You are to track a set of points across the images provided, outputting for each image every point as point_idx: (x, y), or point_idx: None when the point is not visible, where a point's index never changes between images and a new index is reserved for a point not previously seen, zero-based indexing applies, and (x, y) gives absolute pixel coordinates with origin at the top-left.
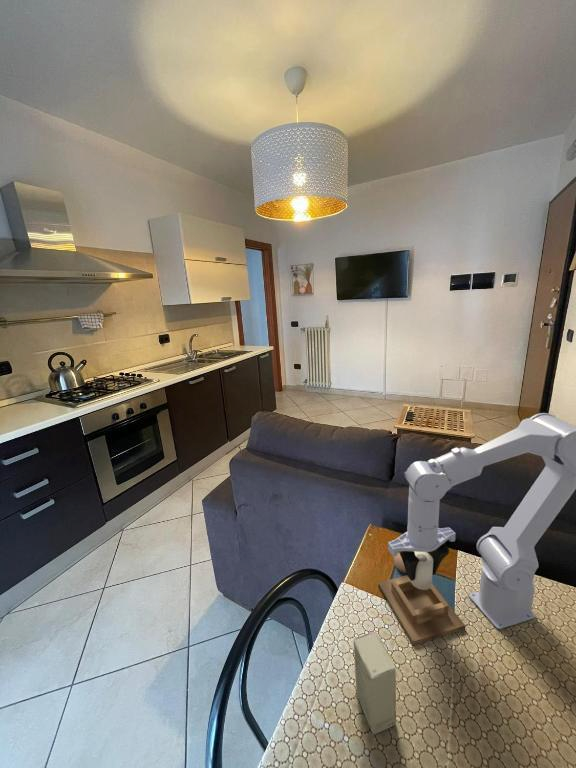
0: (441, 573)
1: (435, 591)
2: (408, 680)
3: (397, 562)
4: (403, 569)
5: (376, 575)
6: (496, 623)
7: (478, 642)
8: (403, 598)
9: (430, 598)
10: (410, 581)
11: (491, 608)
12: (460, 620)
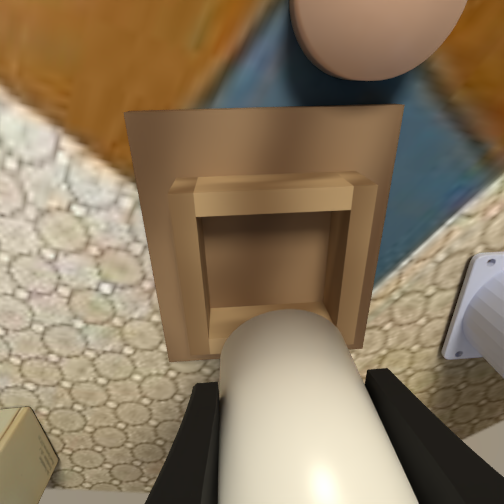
0: (482, 123)
1: (353, 286)
2: (120, 408)
3: (299, 12)
4: (312, 59)
5: (143, 32)
6: (453, 349)
7: (359, 368)
8: (187, 289)
9: (326, 249)
10: (220, 356)
11: (484, 352)
12: (361, 334)
